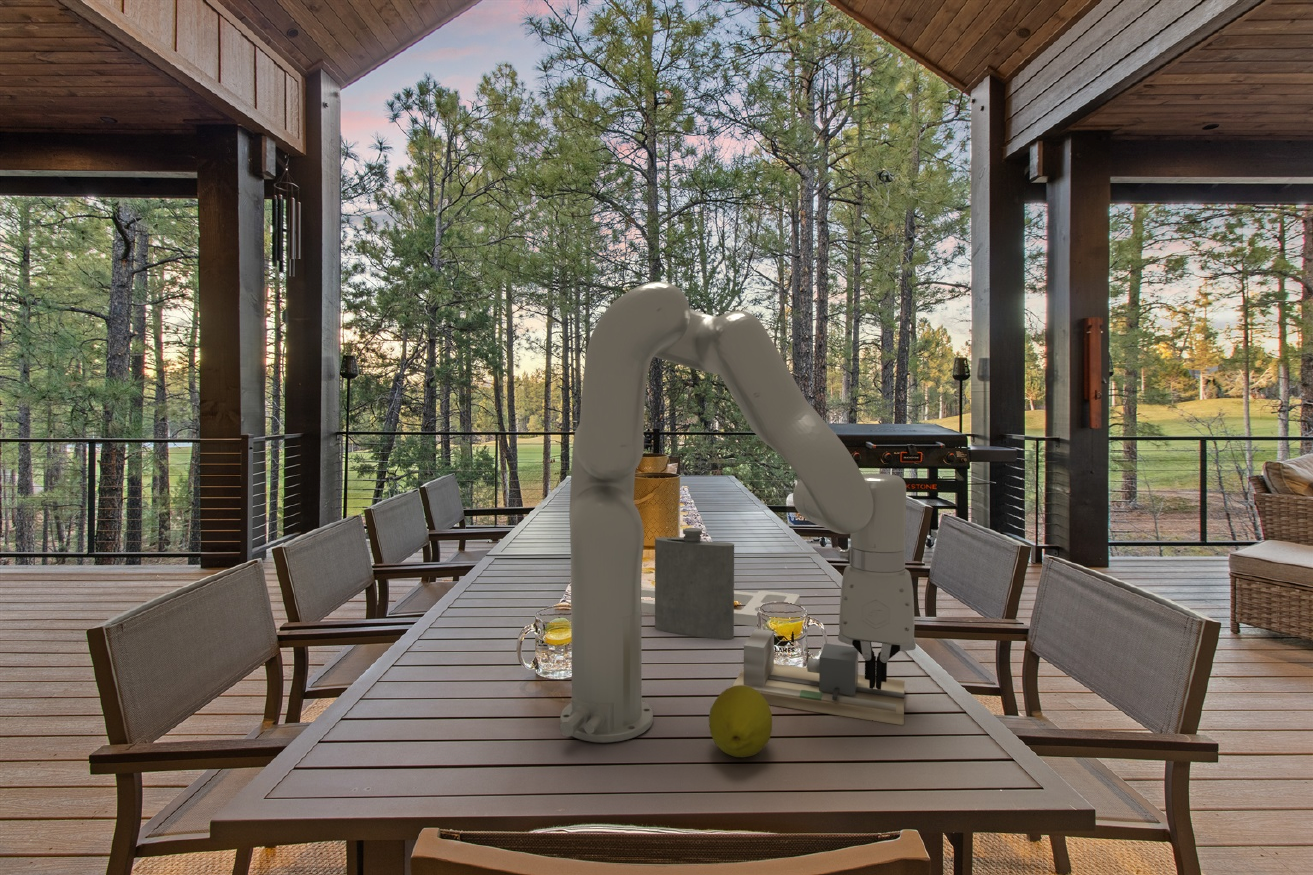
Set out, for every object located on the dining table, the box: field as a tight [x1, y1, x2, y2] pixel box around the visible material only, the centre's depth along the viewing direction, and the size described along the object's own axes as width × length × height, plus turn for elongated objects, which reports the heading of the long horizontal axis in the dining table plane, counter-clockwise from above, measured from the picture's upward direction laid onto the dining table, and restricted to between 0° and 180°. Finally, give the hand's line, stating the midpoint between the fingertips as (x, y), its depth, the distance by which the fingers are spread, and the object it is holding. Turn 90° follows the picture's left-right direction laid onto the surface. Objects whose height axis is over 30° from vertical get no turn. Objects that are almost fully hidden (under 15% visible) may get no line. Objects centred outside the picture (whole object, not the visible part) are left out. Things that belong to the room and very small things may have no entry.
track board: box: [731, 628, 906, 726], centre depth 101 cm, size 12×24×8 cm, turn 69°
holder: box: [641, 586, 801, 628], centre depth 148 cm, size 45×18×3 cm, turn 68°
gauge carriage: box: [806, 643, 859, 701], centre depth 99 cm, size 9×7×5 cm
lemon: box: [708, 685, 773, 758], centre depth 84 cm, size 11×8×8 cm
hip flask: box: [654, 527, 735, 641], centre depth 129 cm, size 16×4×20 cm, turn 65°
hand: (875, 685), depth 99 cm, fingers closed
